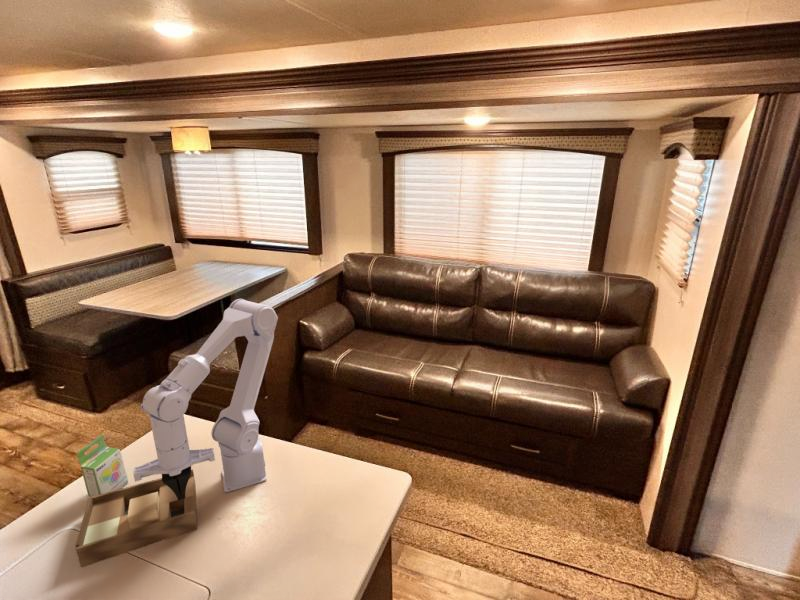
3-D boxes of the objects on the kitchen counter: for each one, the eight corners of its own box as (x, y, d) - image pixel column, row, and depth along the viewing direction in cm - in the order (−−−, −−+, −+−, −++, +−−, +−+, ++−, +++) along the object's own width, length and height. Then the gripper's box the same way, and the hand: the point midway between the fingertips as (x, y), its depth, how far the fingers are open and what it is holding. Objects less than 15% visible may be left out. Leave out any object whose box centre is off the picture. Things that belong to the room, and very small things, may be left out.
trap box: (195, 484, 99) (192, 467, 98) (197, 529, 87) (193, 510, 86) (94, 513, 91) (89, 495, 89) (81, 567, 79) (74, 547, 77)
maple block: (160, 506, 89) (157, 491, 88) (159, 523, 85) (156, 508, 84) (133, 514, 87) (130, 499, 86) (131, 532, 83) (127, 517, 81)
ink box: (104, 505, 93) (90, 455, 89) (89, 502, 94) (75, 452, 90) (129, 482, 100) (117, 435, 95) (114, 480, 100) (103, 433, 96)
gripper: (127, 465, 77) (140, 522, 81) (212, 443, 83) (220, 498, 87) (131, 442, 83) (143, 497, 87) (210, 424, 89) (217, 476, 93)
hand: (181, 496), depth 88 cm, fingers closed
